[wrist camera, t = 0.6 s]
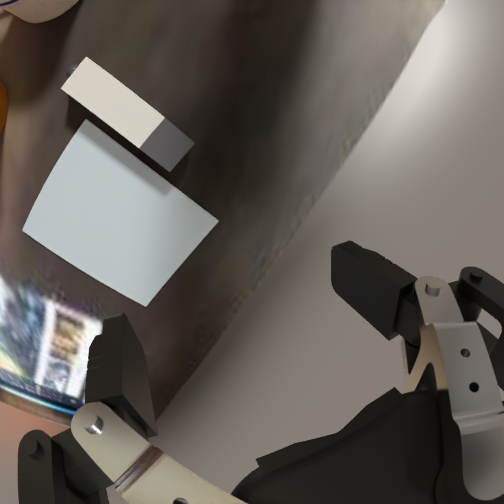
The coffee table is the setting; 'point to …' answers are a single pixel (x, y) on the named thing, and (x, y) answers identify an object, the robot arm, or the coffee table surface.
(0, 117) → the mug
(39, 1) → the teacup with lid
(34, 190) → the coffee table surface
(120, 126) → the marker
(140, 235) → the paper pad
